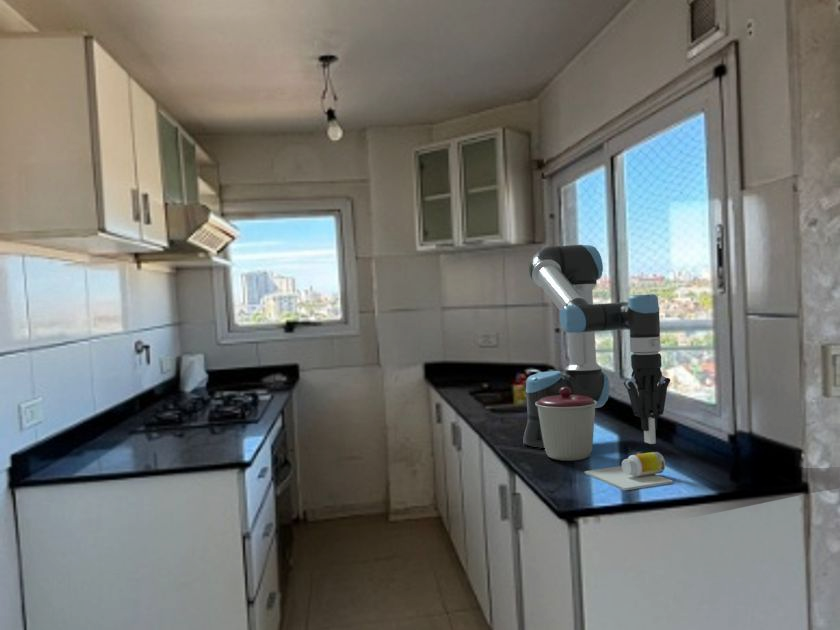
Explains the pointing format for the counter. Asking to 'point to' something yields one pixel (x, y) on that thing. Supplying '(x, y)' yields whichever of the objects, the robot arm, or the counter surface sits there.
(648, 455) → the supplement bottle
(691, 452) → the counter surface
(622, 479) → the mat
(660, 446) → the counter surface
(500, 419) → the counter surface
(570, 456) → the canister
